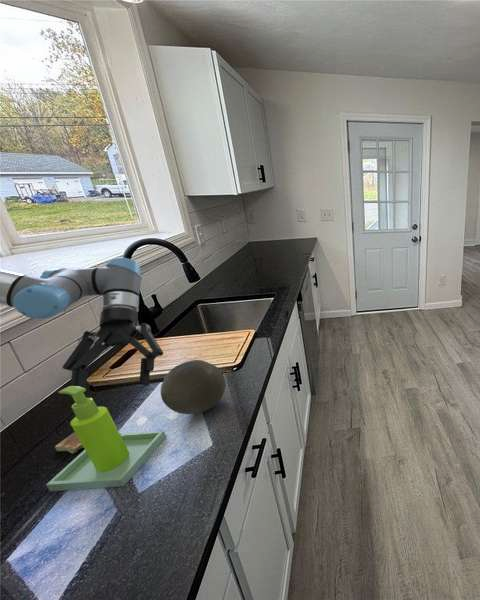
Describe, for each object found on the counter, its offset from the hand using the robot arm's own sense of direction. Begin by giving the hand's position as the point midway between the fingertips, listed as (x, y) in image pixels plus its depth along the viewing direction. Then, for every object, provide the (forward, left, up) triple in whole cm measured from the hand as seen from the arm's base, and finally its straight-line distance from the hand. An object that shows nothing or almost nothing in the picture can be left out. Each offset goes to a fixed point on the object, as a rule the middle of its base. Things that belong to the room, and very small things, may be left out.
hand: (112, 390), depth 76 cm
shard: (-12, -1, -13) cm, 18 cm away
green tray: (+3, -9, -13) cm, 16 cm away
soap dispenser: (+3, -9, -13) cm, 16 cm away
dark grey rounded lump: (+15, +7, -13) cm, 21 cm away
